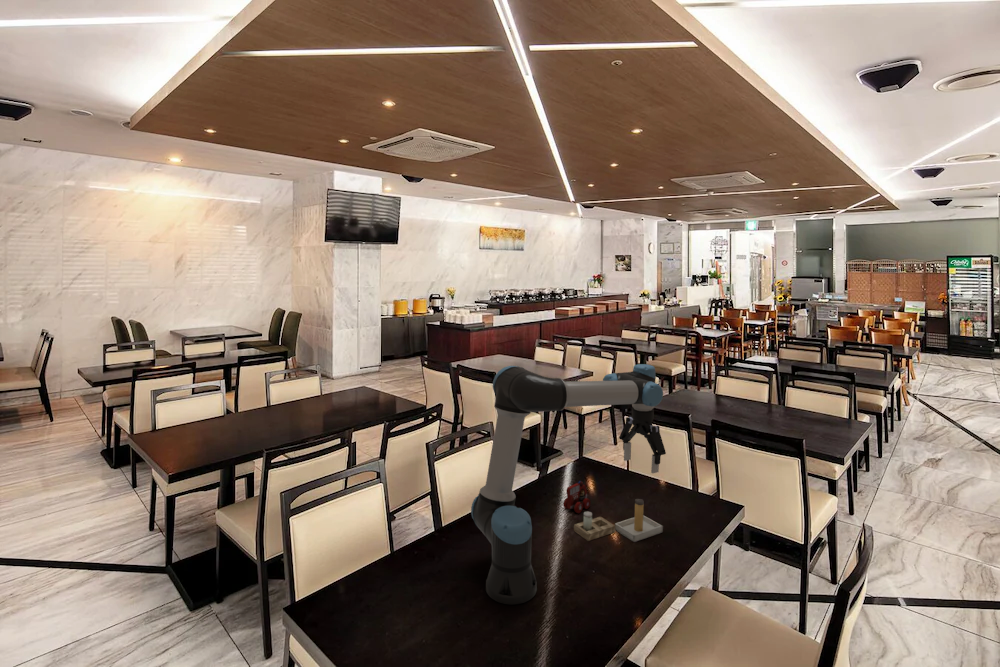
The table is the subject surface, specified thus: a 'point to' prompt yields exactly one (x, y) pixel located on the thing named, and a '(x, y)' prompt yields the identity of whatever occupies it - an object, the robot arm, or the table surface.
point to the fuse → (587, 521)
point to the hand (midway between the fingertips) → (640, 466)
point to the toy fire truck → (577, 497)
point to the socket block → (595, 529)
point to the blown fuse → (638, 515)
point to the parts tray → (628, 531)
